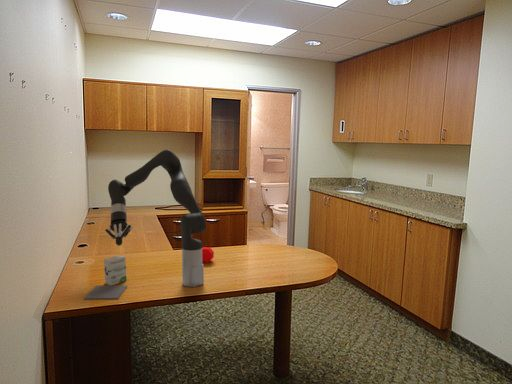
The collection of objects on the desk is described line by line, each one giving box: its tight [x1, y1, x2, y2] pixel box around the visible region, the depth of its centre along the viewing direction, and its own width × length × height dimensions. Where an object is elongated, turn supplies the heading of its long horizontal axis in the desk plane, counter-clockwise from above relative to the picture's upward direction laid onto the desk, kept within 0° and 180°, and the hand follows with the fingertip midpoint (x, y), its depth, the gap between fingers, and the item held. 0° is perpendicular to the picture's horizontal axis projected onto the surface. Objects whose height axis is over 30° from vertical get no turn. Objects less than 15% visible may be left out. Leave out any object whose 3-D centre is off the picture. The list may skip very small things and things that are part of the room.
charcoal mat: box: [83, 285, 128, 300], centre depth 161 cm, size 14×14×1 cm
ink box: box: [103, 254, 128, 286], centre depth 172 cm, size 9×5×12 cm, turn 141°
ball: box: [202, 246, 215, 264], centre depth 204 cm, size 8×8×8 cm
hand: (119, 244), depth 178 cm, fingers closed
